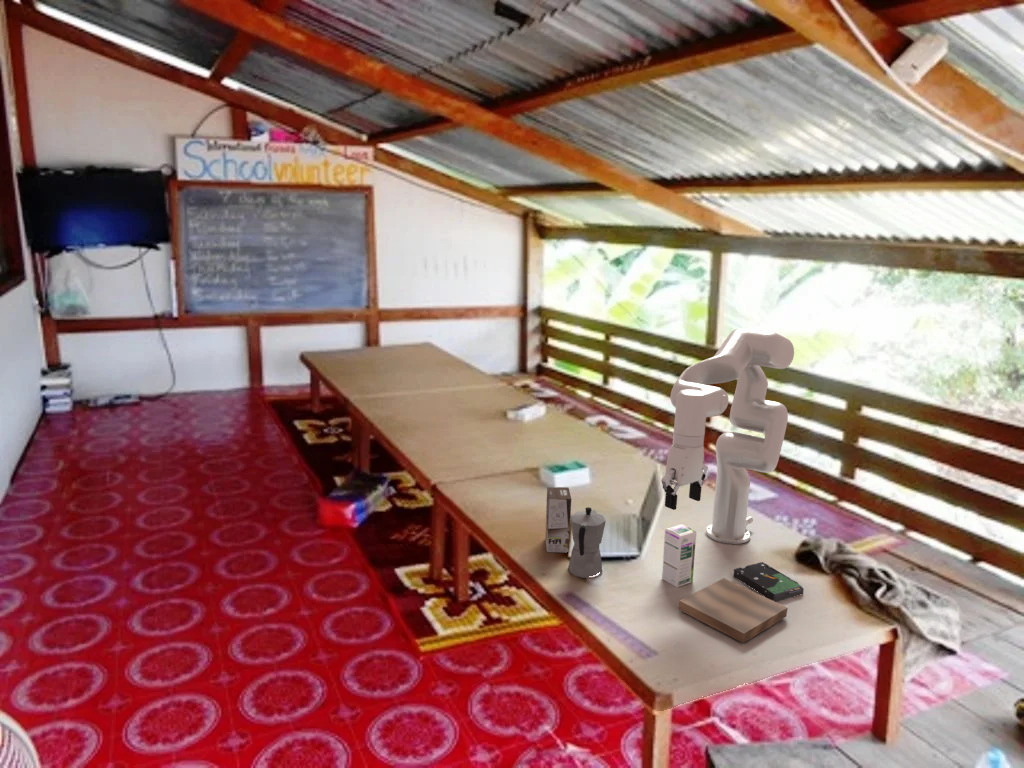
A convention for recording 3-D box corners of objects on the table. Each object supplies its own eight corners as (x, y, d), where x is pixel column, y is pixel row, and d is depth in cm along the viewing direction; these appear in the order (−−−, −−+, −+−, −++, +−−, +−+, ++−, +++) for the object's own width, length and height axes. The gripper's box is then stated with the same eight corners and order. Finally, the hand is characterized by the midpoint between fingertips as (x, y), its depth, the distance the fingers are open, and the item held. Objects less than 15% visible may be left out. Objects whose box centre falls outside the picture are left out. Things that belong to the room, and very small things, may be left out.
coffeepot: (573, 556, 214) (576, 496, 209) (607, 562, 211) (610, 500, 207) (560, 583, 199) (563, 518, 195) (596, 589, 197) (600, 523, 192)
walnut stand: (722, 588, 198) (723, 578, 198) (786, 618, 185) (787, 607, 184) (678, 611, 187) (679, 600, 186) (742, 645, 174) (744, 633, 173)
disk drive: (732, 578, 205) (773, 604, 192) (733, 568, 205) (775, 594, 192) (761, 570, 210) (804, 595, 197) (762, 561, 209) (805, 585, 196)
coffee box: (569, 553, 216) (571, 499, 212) (546, 552, 216) (548, 498, 212) (567, 538, 225) (569, 486, 221) (544, 538, 225) (546, 486, 221)
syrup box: (677, 588, 198) (681, 536, 195) (660, 578, 203) (664, 527, 199) (692, 582, 201) (697, 531, 198) (676, 573, 206) (680, 522, 202)
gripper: (697, 430, 201) (691, 491, 205) (654, 441, 190) (648, 506, 194) (721, 437, 195) (715, 500, 199) (678, 449, 184) (672, 516, 188)
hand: (682, 503), depth 196 cm, fingers open, 9 cm apart
